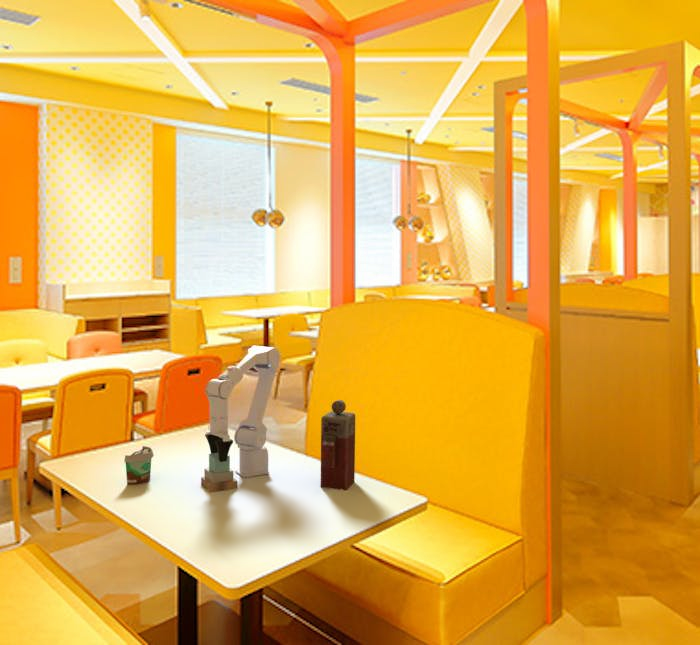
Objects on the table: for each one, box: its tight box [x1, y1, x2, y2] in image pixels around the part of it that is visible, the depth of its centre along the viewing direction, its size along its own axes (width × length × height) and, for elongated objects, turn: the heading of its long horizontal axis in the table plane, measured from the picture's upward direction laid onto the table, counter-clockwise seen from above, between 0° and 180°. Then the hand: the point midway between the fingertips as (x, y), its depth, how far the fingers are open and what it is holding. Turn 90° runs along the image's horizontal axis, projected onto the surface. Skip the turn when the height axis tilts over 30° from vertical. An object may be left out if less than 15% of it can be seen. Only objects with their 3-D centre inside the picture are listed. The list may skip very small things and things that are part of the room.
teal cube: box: [208, 453, 231, 473], centre depth 218 cm, size 5×5×5 cm
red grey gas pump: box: [320, 399, 356, 491], centre depth 220 cm, size 9×11×28 cm
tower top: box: [203, 467, 234, 484], centre depth 219 cm, size 7×7×3 cm
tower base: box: [200, 476, 238, 494], centre depth 219 cm, size 9×9×3 cm
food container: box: [123, 445, 155, 486], centre depth 223 cm, size 12×6×10 cm, turn 168°
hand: (218, 458), depth 218 cm, fingers open, 7 cm apart
